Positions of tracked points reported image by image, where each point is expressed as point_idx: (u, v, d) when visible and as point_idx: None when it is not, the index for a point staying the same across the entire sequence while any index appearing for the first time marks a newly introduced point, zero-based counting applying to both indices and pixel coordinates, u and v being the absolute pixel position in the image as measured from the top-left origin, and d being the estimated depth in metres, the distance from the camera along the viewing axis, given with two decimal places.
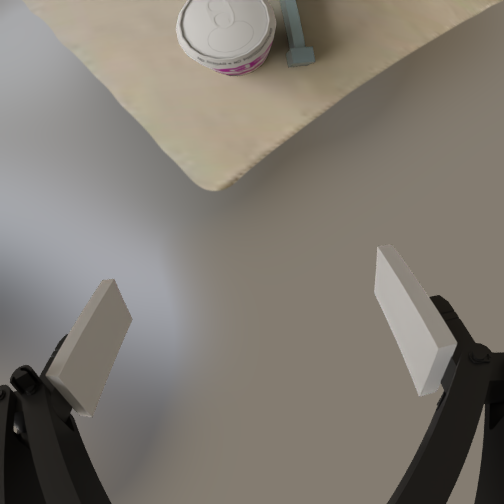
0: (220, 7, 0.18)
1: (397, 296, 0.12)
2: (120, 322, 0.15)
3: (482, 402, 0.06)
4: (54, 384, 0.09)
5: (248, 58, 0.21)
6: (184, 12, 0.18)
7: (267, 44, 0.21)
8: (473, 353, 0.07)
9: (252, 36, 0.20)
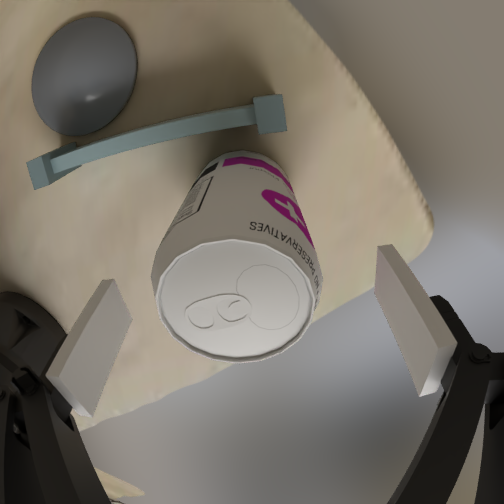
0: (207, 312, 0.14)
1: (397, 297, 0.12)
2: (120, 322, 0.15)
3: (482, 402, 0.06)
4: (54, 384, 0.09)
5: (312, 264, 0.13)
6: (215, 354, 0.15)
7: (284, 228, 0.13)
8: (473, 353, 0.07)
9: (271, 267, 0.12)
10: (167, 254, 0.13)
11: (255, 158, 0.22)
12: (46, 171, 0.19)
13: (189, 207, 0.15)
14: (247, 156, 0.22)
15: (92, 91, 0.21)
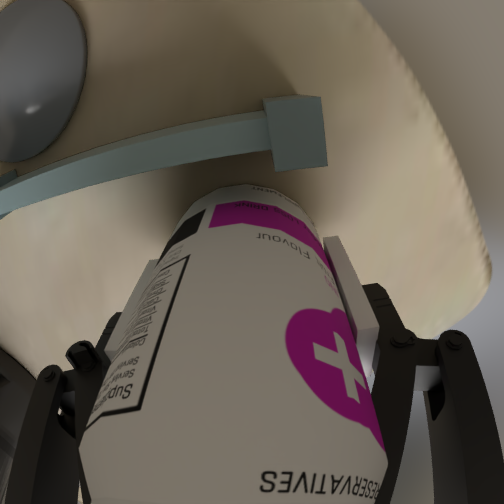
0: None
1: None
2: None
3: (413, 384, 0.07)
4: (112, 359, 0.10)
5: None
6: None
7: (339, 462, 0.04)
8: (394, 338, 0.09)
9: None
10: (93, 479, 0.04)
11: (266, 204, 0.13)
12: None
13: (131, 361, 0.06)
14: (253, 200, 0.13)
15: (28, 98, 0.13)
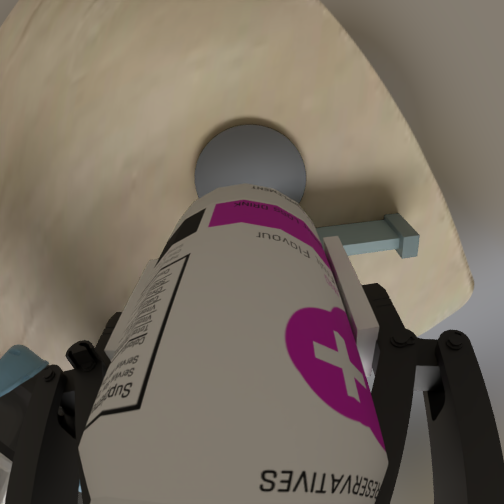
0: None
1: None
2: None
3: (413, 384, 0.07)
4: None
5: (379, 489, 0.05)
6: None
7: (339, 462, 0.04)
8: (394, 338, 0.09)
9: None
10: (92, 479, 0.04)
11: (266, 203, 0.13)
12: None
13: (130, 360, 0.06)
14: (253, 199, 0.13)
15: None
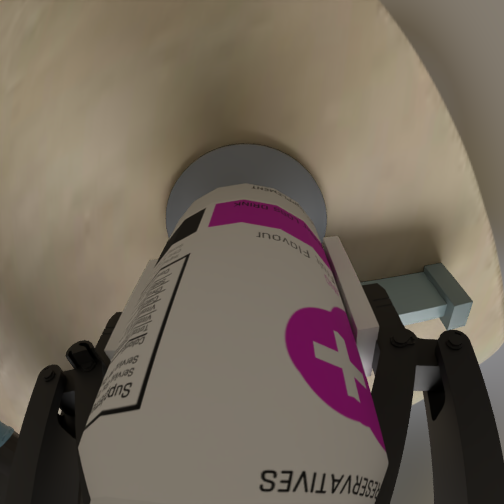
0: None
1: None
2: None
3: (413, 384, 0.07)
4: None
5: (379, 489, 0.05)
6: None
7: (339, 462, 0.04)
8: (394, 338, 0.09)
9: None
10: (92, 479, 0.04)
11: (266, 203, 0.13)
12: None
13: (130, 360, 0.06)
14: (253, 199, 0.13)
15: None
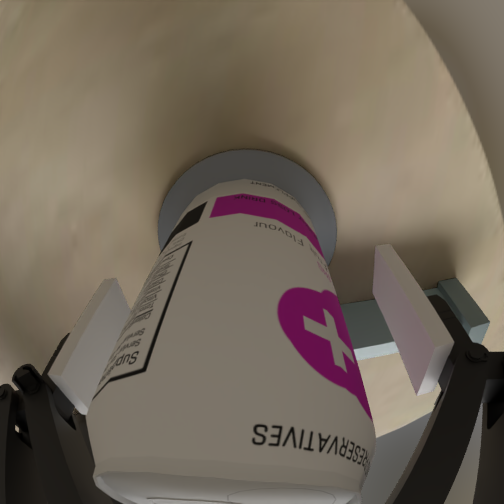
0: None
1: (394, 296, 0.12)
2: (122, 321, 0.15)
3: (479, 401, 0.06)
4: (56, 383, 0.09)
5: (366, 457, 0.06)
6: None
7: (325, 421, 0.05)
8: (470, 352, 0.07)
9: (292, 488, 0.05)
10: (98, 443, 0.05)
11: (264, 197, 0.14)
12: None
13: (137, 333, 0.07)
14: (251, 193, 0.14)
15: None
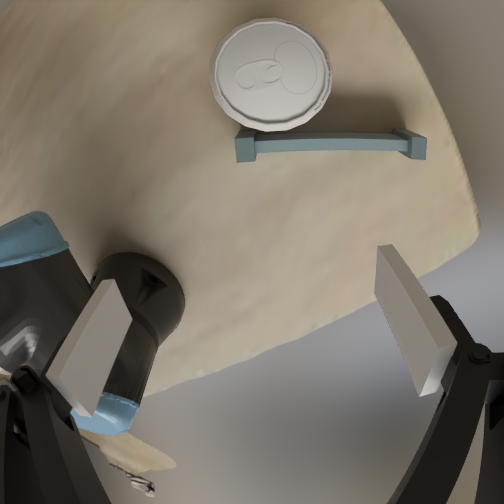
0: (251, 74, 0.17)
1: (397, 296, 0.12)
2: (120, 322, 0.15)
3: (482, 402, 0.06)
4: (54, 384, 0.09)
5: (325, 53, 0.16)
6: (250, 117, 0.18)
7: (306, 30, 0.16)
8: (473, 353, 0.07)
9: (298, 43, 0.16)
10: (229, 36, 0.16)
11: None
12: (254, 150, 0.29)
13: None
14: None
15: None
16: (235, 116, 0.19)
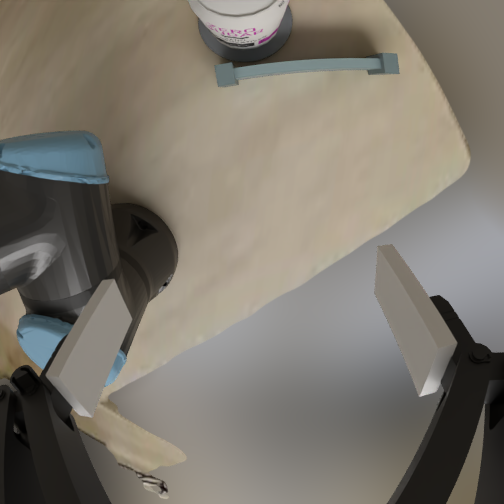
0: None
1: (397, 296, 0.12)
2: (120, 322, 0.15)
3: (482, 402, 0.06)
4: (54, 384, 0.09)
5: None
6: (222, 14, 0.17)
7: None
8: (473, 353, 0.07)
9: None
10: None
11: None
12: (233, 74, 0.28)
13: None
14: None
15: None
16: (209, 18, 0.18)
